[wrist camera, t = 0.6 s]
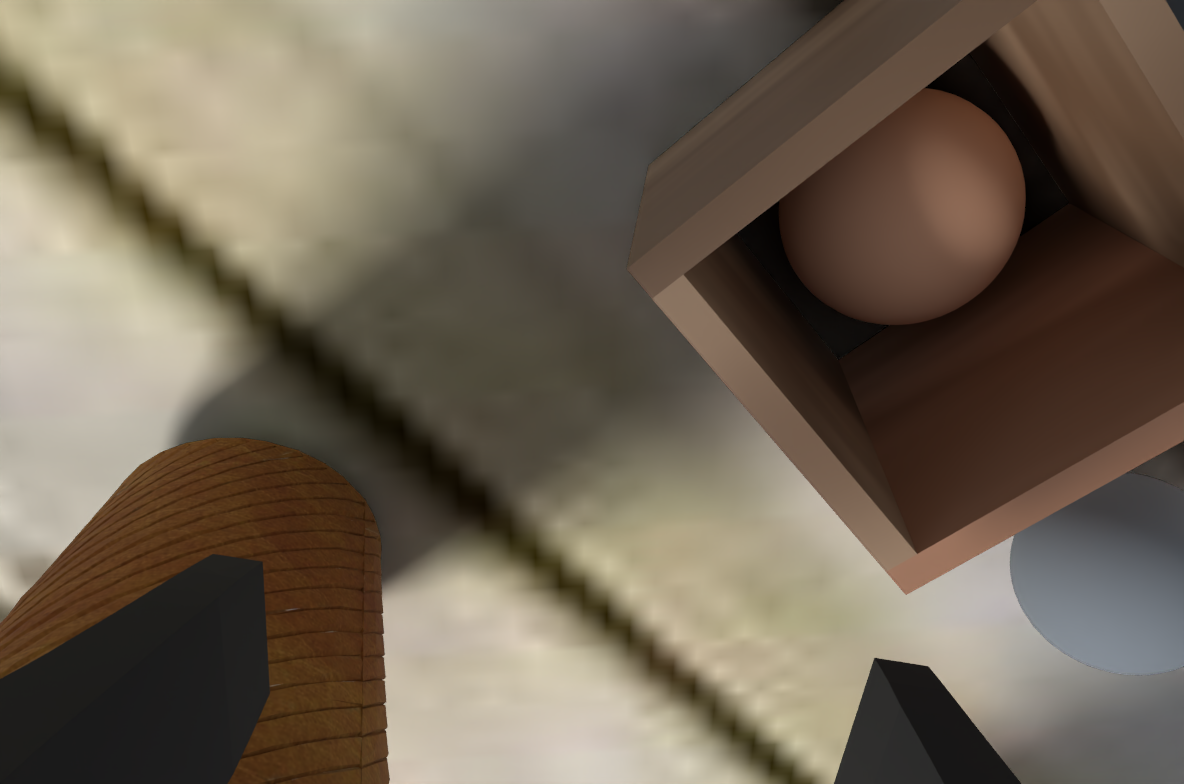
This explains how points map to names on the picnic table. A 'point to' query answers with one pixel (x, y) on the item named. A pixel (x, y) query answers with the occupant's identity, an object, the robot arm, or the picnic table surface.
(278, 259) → the picnic table surface
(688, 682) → the picnic table surface
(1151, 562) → the charcoal ball
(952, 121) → the terracotta ball in well
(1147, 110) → the divided wooden sorting box
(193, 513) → the disposable coffee cup
